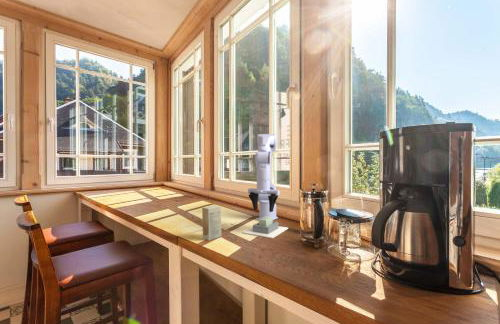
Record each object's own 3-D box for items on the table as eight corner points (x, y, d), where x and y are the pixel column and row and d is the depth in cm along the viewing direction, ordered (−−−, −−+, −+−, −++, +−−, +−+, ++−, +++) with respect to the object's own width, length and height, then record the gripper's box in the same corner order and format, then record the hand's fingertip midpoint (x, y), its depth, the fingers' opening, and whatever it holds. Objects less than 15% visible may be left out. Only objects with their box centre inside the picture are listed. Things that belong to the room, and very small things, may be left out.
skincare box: (215, 234, 103) (215, 204, 103) (221, 237, 100) (221, 206, 100) (201, 238, 98) (201, 207, 98) (208, 240, 95) (208, 208, 95)
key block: (258, 230, 106) (258, 219, 106) (265, 227, 112) (265, 216, 111) (266, 232, 105) (266, 220, 104) (272, 228, 110) (272, 217, 110)
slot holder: (260, 224, 119) (260, 218, 118) (288, 228, 111) (288, 221, 111) (242, 233, 105) (242, 225, 105) (272, 238, 98) (272, 230, 98)
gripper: (244, 179, 109) (244, 210, 110) (274, 180, 102) (274, 214, 102) (252, 178, 115) (252, 207, 116) (281, 179, 108) (281, 211, 108)
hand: (263, 210), depth 109 cm, fingers open, 7 cm apart
